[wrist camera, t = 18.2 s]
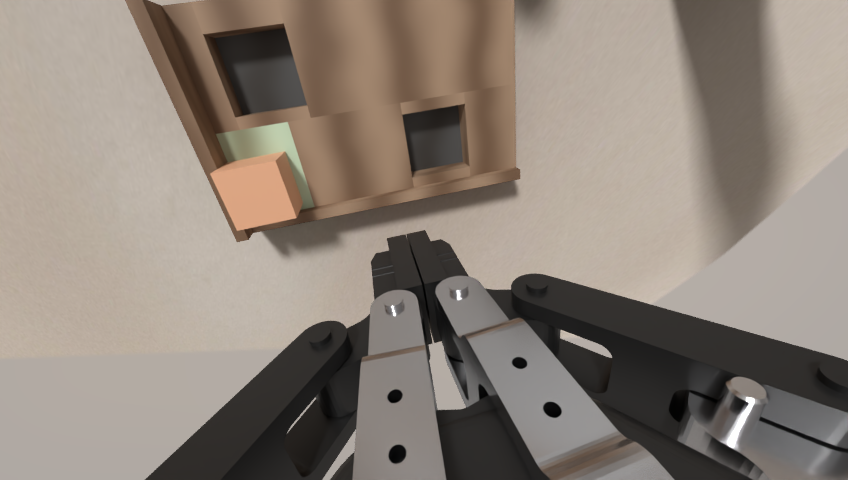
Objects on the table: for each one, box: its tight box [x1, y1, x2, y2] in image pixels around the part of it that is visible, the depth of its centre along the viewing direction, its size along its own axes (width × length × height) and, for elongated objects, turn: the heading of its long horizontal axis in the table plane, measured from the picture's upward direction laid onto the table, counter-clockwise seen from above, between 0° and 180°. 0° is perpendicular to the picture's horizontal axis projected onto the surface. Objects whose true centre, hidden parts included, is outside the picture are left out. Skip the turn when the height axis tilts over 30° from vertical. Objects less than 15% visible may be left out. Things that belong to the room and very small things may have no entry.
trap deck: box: [125, 0, 520, 242], centre depth 29 cm, size 28×18×5 cm, turn 98°
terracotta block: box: [210, 151, 303, 231], centre depth 28 cm, size 5×5×4 cm
